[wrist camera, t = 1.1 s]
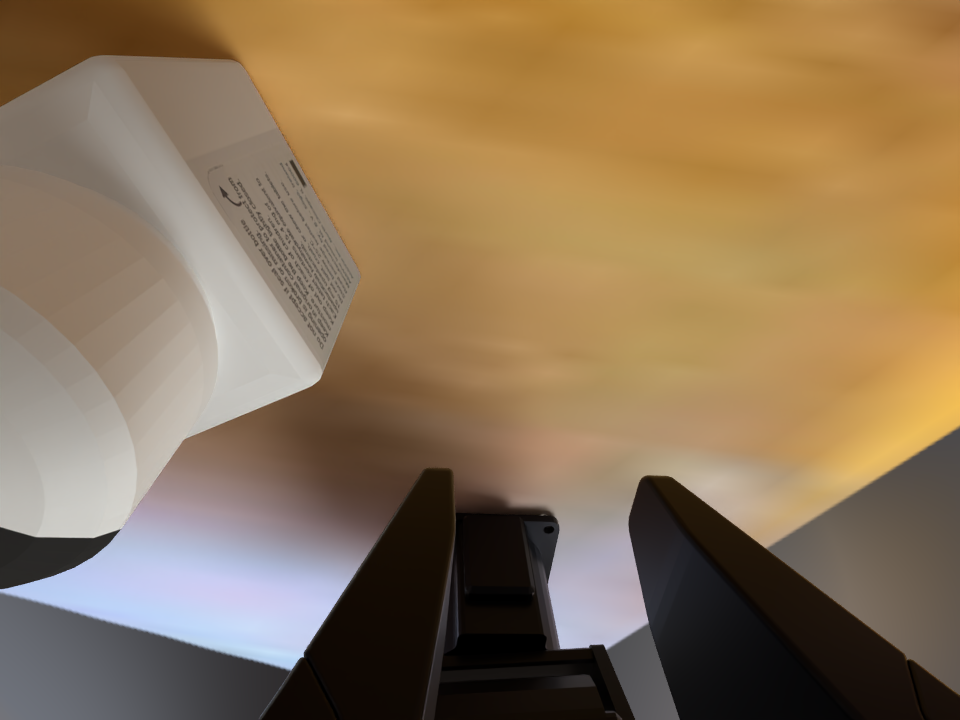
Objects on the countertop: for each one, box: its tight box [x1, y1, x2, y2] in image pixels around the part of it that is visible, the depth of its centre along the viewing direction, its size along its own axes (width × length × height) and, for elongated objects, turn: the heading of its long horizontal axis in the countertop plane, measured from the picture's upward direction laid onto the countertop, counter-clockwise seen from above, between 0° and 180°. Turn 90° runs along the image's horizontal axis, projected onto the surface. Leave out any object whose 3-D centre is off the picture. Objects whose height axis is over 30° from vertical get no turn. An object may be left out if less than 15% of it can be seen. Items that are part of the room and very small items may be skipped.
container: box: [0, 55, 361, 589], centre depth 13 cm, size 8×8×13 cm
